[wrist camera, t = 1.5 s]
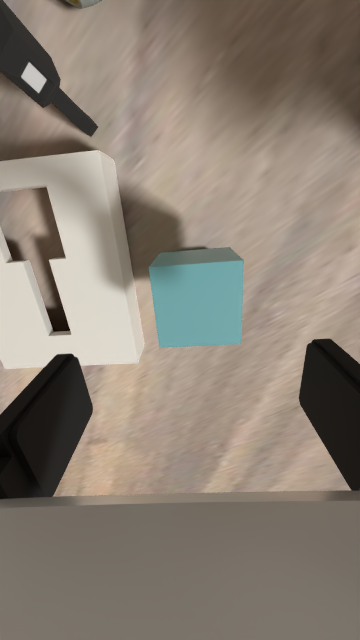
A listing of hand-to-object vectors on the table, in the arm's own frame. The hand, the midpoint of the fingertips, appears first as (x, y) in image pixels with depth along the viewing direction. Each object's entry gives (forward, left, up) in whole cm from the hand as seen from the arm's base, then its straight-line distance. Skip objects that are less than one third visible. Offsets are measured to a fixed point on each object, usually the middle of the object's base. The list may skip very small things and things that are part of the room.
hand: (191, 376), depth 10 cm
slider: (0, 0, -18) cm, 18 cm away
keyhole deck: (+15, -1, -18) cm, 23 cm away
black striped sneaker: (+13, -19, -19) cm, 30 cm away
